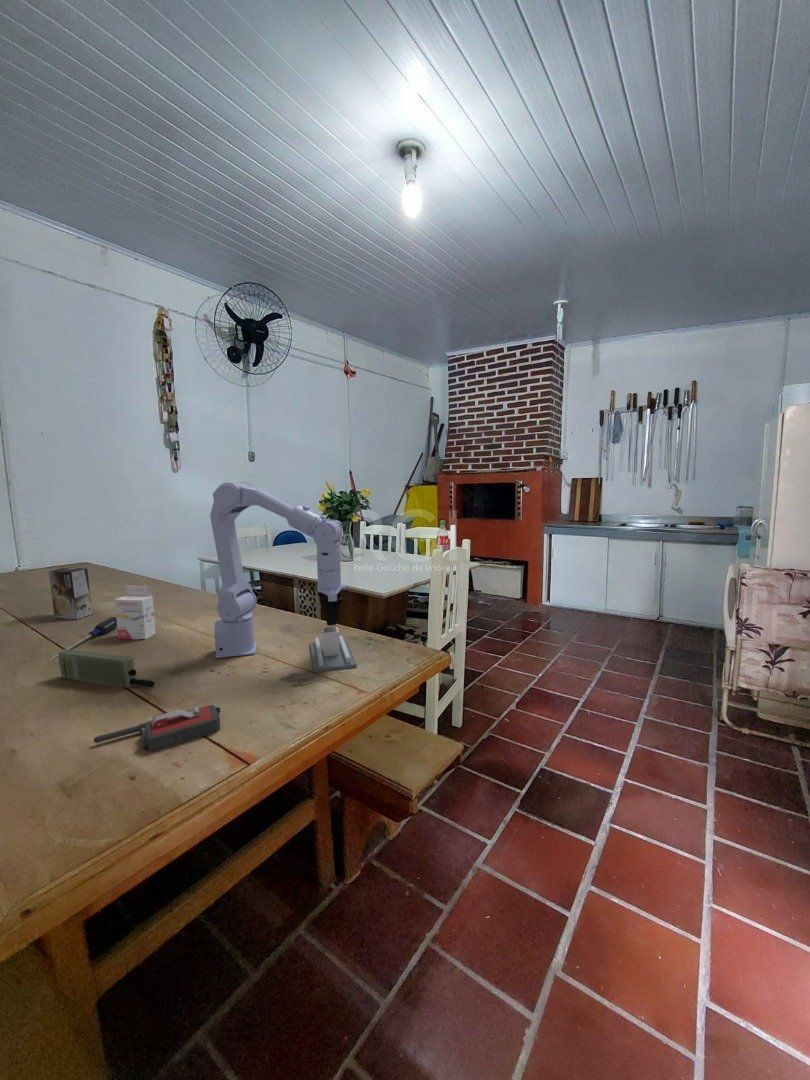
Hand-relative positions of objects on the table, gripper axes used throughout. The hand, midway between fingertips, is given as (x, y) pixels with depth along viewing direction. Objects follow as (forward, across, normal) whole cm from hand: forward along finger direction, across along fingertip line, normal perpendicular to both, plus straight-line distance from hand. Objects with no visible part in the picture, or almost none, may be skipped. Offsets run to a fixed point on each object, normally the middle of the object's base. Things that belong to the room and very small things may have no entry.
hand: (330, 621), depth 113 cm
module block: (+8, 0, 0) cm, 8 cm away
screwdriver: (+10, +29, +66) cm, 72 cm away
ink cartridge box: (+9, +30, +53) cm, 62 cm away
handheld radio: (+9, -1, +50) cm, 51 cm away
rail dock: (+9, 0, 0) cm, 9 cm away
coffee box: (+9, +58, +80) cm, 99 cm away
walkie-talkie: (+10, -28, +32) cm, 44 cm away
